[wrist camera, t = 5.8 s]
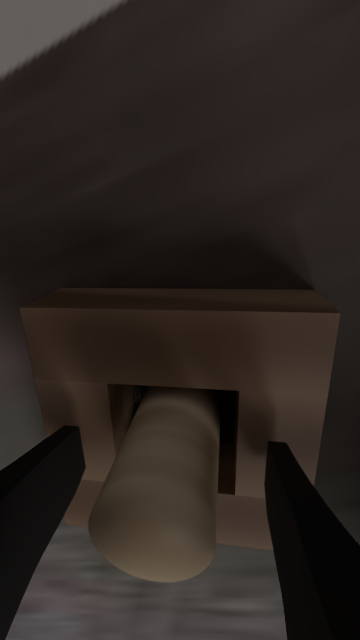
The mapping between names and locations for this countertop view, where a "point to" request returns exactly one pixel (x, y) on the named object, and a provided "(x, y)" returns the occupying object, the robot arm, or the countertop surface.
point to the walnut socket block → (187, 378)
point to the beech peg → (163, 488)
